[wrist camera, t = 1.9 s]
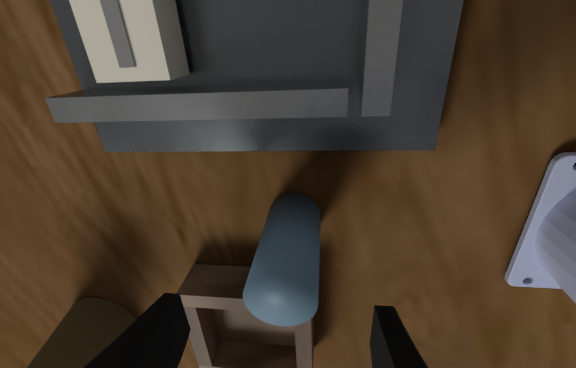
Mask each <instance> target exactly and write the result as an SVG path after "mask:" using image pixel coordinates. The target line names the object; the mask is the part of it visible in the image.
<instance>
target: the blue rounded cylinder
mask: <svg viewBox="0 0 576 368" xmlns="http://www.w3.org/2000/svg"><path fill="white" fill-rule="evenodd" d="M320 227H321V214H320V210H319V208H318V206H317V205H316V204H315V203H314V202H313V201H312V200H311V199H309V198H308V197H306V196H303V195H299V194H287V195H284V196H281V197H279V198H278V199H277V200H275V201H274V202H273V204H272V205H271V208H270V211H269V214H268V217H267V220H266V223H265V226H264V229H263V232H262V235H261V238H260V241H259V244H258V248H257V251H256V254H255V257H254V260H253V263H252V266H251V269H250V272H249V275H248V278H247V281H246V284H245V287H244V291H243V300H244V303H245V306H246V307H247V309H248V310H249V311H250V312H251V313H252V314H253V315H254V316H255V317H256V318H258V319H260V320H262V321H264V322H266V323H268V324H272V325H276V326H296V325H300V324H302V323H305V322H307V321H308V320H310V319H311V318H312V317H313V316H314V315H315V313H316V311H317V308H318V294H319V261H320Z"/></svg>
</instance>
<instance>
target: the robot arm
mask: <svg viewBox="0 0 576 368" xmlns="http://www.w3.org/2000/svg"><path fill="white" fill-rule="evenodd" d="M575 163H576V152H565V153H560V154H558V155H556V156H555V157H554V158H552V160H551V161H550V163H549V166H548V168H547V171H546V173H545V176H544V178H543V181H542V183H541V186H540V188H539V191H538V193H537V196H536V198H535V201H534V203H533V206H532V208H531V211H530V213H529V216H528V218H527V221H526V223H525V226H524V229H523V231H522V234H521V236H520V239H519V241H518V244H517V246H516V249H515V251H514V254H513V256H512V259H511V261H510V264H509V266H508V269H507V271H506V274H505V279H506V281H507V282H508V284H509V285H511V286H519V287H539V288H558V289H563V290H564V291H565V293H566V294H567V295H568V296H569V297H570V298H571V299H572V300H573V301H574V302H575V303H576V166H575V167H573V165H574V164H575ZM190 330H191V329H190V326H189V322H188V319H187V316H186V313H185V310H184V306H183V303H182V300H181V297H180V294H172V293H164V294H163V295H162V296H161V297H160V298H159V299H158V300H157V301H156V302H155V303H153V304H152V305H151V306H150V307H149V308H148V309H147V310H146V311H145V312H144V313H143V314H142V315H141V316H140V317H139V318H138V319H137V320H136V321H134V322H133V323H132V324H131V325H130V326H129V327H128V328H127V329H126V330H125V331H124V332H123V333H122V334H120V335H119V336H118V337H117V338H116V339H115V340H114V341H113V342H112V343H111V344H110V345H109V346H107V347H106V348H105V349H104V350H103V351H102V352H101V353H99V354H98V355H97V356H96V357H95V358H94V359H92V360H91V361H90V362H89V363H88V364H87V365H86V366H84V367H83V368H177V367H178V364H179V362H180V360H181V357H182V355H183V352H184V349H185V346H186V343H187V340H188V337H189V333H190ZM370 349H371V359H372V368H428V367H427V365H426V363H425V362H424V360H423V359H422V357H421V355H420V354H419V352H418V350H417V349H416V347H415V345H414V343H413V341H412V340H411V338H410V336H409V334H408V332H407V331H406V329H405V327H404V325H403V323H402V321H401V319H400V317H399V315H398V313H397V311H396V309H395V308H394V307H393V306H377V305H375V306H374V314H373V322H372V330H371V338H370Z"/></svg>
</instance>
